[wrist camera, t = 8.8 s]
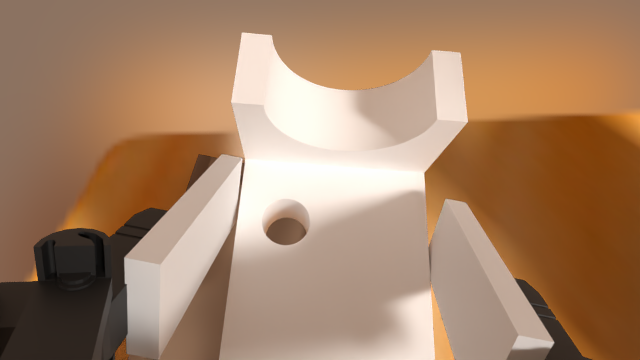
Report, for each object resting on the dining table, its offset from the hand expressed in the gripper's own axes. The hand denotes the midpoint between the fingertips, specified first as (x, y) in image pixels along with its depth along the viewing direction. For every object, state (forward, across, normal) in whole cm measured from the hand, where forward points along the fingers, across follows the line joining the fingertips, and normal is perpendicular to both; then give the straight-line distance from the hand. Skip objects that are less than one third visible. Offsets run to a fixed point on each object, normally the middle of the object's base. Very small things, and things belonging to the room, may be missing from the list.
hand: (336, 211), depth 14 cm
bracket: (+1, 0, -4) cm, 4 cm away
